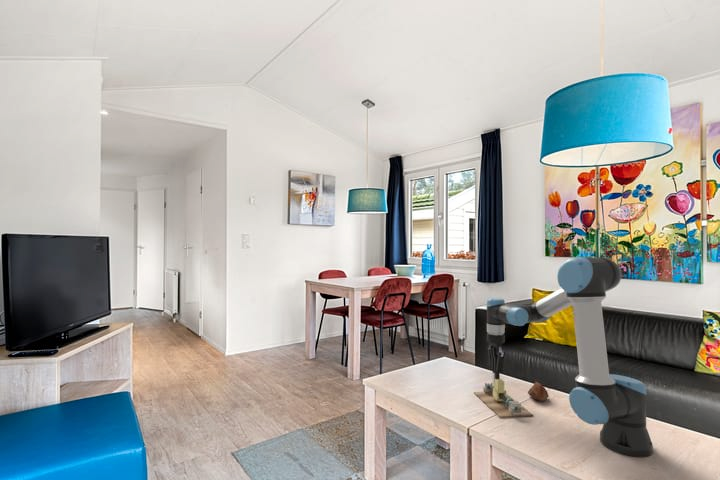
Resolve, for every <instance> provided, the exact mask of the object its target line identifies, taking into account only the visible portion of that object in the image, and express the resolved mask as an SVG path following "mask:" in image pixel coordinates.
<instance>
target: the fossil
mask: <svg viewBox="0 0 720 480" xmlns="http://www.w3.org/2000/svg"><path fill="white" fill-rule="evenodd" d="M531 386H532V387H530V388H529V389H528V391H527V394H528V395H529V396H530V397H532V399H535V400H536V401H540V402H544V401H545V400H547V399H548V398H550V397H549V392H548V391H547V389H546V388H545V387H544V385H543V384H542V383H540V382H537V381H535V382H534V384H533V385H531Z"/></svg>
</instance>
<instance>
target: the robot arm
mask: <svg viewBox="0 0 720 480" xmlns="http://www.w3.org/2000/svg"><path fill="white" fill-rule="evenodd" d="M556 277H557V283H558V285H559V287H560V288H559V289H557V290H555V291H553V292H552V293H550V294H548V295H546V296H544V297H542V298H541V299H539V300H538V301H536V302H533V303H531V304H524V305H522V304H521V305H508V304H506V303H505V302H506V301H505V299H504V298H501V297H500V298H499V297H490V298H488V299H487V300H486V332H487V333H486V342H488V343H489V345H487V346H486V348H487V352H488V362H489V363H488V364H489V369H491V372H492V375H491V376H492V379H491V380H492V382H491V383H492V386H493V387H495V379H501V376H500V375H501V373H503V371H504V370H503V369H504V362H505V361H504V360H505V356H506V352H504V351H503V346H502V344H504V343H505V342H506V336H505V332H506V331H505V328H506V325H505V324H509V325H513V326H515V327H516V326H518V327H523V326H525V324H529V323H542V322H546V321H549V319H550V317H551V316H553V315H555V314H557V313H559V312H561V311H563V310H565V309H567V308H570V307H571V306H572V310H573V311H572V314H573V323H574V331H575V342H576V350H577V352H576V353H577V360H578V361H577V362H578V370H579V374H577V376H576V377H575V378H574V382H575V387H574V388H572V390H571V391H570V392H569V394H568V395H569V396H568V400H569V405H570V407H571V409H572V411H573V412H574V414H575V415H577V418H579V419H580V420H581V421H582V422H584V423H586V424H589V425H602V427H601V430H600V432H599V442H600V443H601V444H602V445H603V446H604V447H606V448H607V449H609V450H611V451H614V452H616V453H619V454H621V455H625V456H631V457H636V458H637V457H639V458H641V457H643V458H644V457H649V456H651V455H652V454H653V453H654V445H653V441H652V440H651V437H650V433H649V431H648V429H647V395H648V394H647V388H646V385H645V383H643V382H642V381H640V380H638V379H635V378H632V377H629V376H624V375H619V374H614V373H613V374H612V373H610V371H609V370H610V369H609V362H608V361H609V360H608V353H607V352H608V351H607V343H606V335H605V324H604V323H605V322H604V316H603V308H602V307H603V306H602V305H603V304H602V302H603V300H604V299H606V298H607V293H606V292H608V291H611V290H613V289H614V288H616V287H617V286H618V285H619V284H620V283H621V282H620V281H622V270H621V268H620V266H619V264H617V262H615V261H614V260H612V259H610V258H607V257H602V256H601V257H600V256H599V257H598V256H597V257H584V256H583V257H580V256H579V257H573V258H569V259H567V260H565V261H564V262H562V264H561V265H560V267H559V268H558V270H557V276H556Z"/></svg>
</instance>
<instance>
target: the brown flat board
mask: <svg viewBox="0 0 720 480" xmlns="http://www.w3.org/2000/svg"><path fill="white" fill-rule="evenodd" d="M493 388H495V387H493V386H492V382H490V383H488V382H485V383H484V387H483V391H473V394H474V395H475V396H476V397H477V398H478V399H479V400H480V401H481V402H482V403H484V405H485V406H486V407H488V408H489V409H490V410H491V411H492V412H493V413H494V414H495V415H496V416H497V417H498V418H499V419H509V418H510V419H511V418H526V417H527V418H528V417H530V418H531V417H534V414H533V413H531V411H529V410H528V409H527V408H525V407H524V406H523V405H522V403H520V401H518V400H516V399H514V398H512V397H511V396H510V395H509V394H508V393H506V397H505V396H504V395H503V394H501V393H499V397H500V398H502V399H503V400H504V401H496V400H495V399H494V398H493Z"/></svg>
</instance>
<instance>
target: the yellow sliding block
mask: <svg viewBox="0 0 720 480" xmlns="http://www.w3.org/2000/svg"><path fill="white" fill-rule="evenodd" d="M499 393H501V394H503V395H504V396H505V397H506V394H507V390H506V389H505V380H503V379H502V378H500V379H495V388H493V398H494V399H495V400H496V401H504V400H503V399H502V398H500V397H499Z"/></svg>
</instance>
